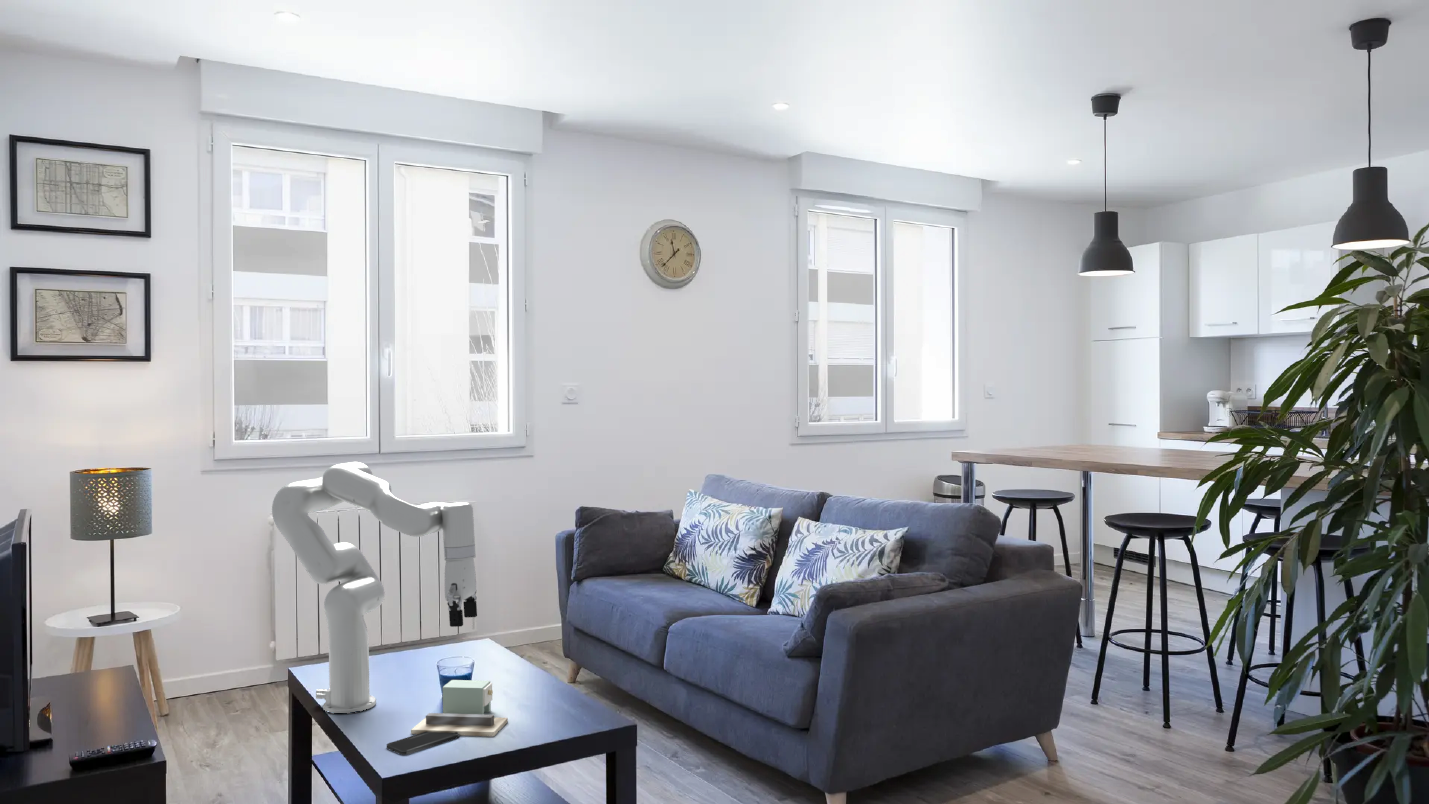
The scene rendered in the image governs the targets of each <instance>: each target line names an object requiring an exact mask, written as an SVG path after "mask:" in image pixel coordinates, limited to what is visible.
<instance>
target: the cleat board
mask: <svg viewBox="0 0 1429 804" xmlns="http://www.w3.org/2000/svg"><path fill="white" fill-rule="evenodd" d="M508 721H509V719H508V717H495V714H485V713H484V714H448V713H443V712H429V713H427V714H426V715H425V718H423V719H422V720H421V721H420V722H418V723H417V724H416V725H415V726H414V727H412V728H411V729H410V735H417V734H420V733H423V732H426V731H427V732H443V733H455V732H458V733H459V736H463V737H464V736H465V737H466V736H469V737H495V736H497V734H498V733H499V732H500V731H501V730H502V729H503V728H504V726H505V725H506V724H507V723H508ZM498 731H499V732H498Z"/></svg>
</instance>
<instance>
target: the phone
mask: <svg viewBox="0 0 1429 804" xmlns="http://www.w3.org/2000/svg"><path fill="white" fill-rule="evenodd" d="M459 738H460V735H459V733H458V732H455V733H443V732H427V731H426V732H423V733H420V734H412V735H411V736H408V737H404V738H401V739H397V740H394V741H391V742H389V743H387V744H386V749H387V748H388V749H390V750H389V751H391V750H392V751H391V752H393V751H395V752H394V753H396V754H398V753H399V755H400V754H402V755H401V756H407V755H411V754H415V753H417V752H420V751H422V750H426V749H429V748H432V747H436V746H438V745H441V744H444V743H448V742H450V741H453V740H457V739H459ZM388 749H387V750H388Z"/></svg>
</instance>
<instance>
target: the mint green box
mask: <svg viewBox="0 0 1429 804" xmlns="http://www.w3.org/2000/svg"><path fill="white" fill-rule="evenodd" d="M493 692H494V691H493V682H491V680H477V679H475V680H470V679H469V680H467V679H466V680H465V679H464V680H463V679H451V680H449V681H448V682H447V683H446V684H444V685H443V686H442V713H448V714H485V713H490V712H491V710H492V705H491V704H492V703H491V702H492V701H493Z"/></svg>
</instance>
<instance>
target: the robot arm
mask: <svg viewBox="0 0 1429 804" xmlns="http://www.w3.org/2000/svg"><path fill="white" fill-rule="evenodd" d="M373 474H374V473H373V472H372V469H370V468H369V466H367V464H365V463H362V462H360V461H359V462H358V461H350V462H344V463H343V462H342V463H337V464H334V465H332V466H330V467H328V468H327V469H326V470H325V471H324V473H323V475H322V476H320V477H317V478H310V479H305V480H297V481H293V482H290V483H287V484H285V485H284V486H283V487H281V488H280V489H279V490H278V491H277V492H276V494H275V496H274V497H273V501H272V506H271V507H272V508H271V514H272V520H273V522H274V523H275V526H276V527H277V529H278V531H279V532H280V534H281V535H282V536H283V537H284V539H285V540H286V541H287V543H288V545H289V546H290V547H291V549H292V551H293V552H294V554H295V555H296V558H298V560H299V562H300V563H301V565H302V566H303V568H304V569H305V571H306V572H307V575H309V577H310V578H311V580H312V581H313V582H314V583H316V584H318V585H324V586H325V585H329V584H332V583H336V582H340V583H339V584H337V585H335V586H334V587H332V588H331V589H330V590H329V591H328V592H327V593H326V596H325V598H324V602H323V611H324V615H325V620H326V625H327V635H328V667H329V668H328V669H329V670H328V674H329V675H328V677H329V678H328V680H329V683H328V685H329V688H328V689H326V688H317V689H316V692H315V699H316V700H322V699H323V700H324V701H325V702H324V703H323V706H322V709H323V711H324V710H325V712H326V711H329V712H334V713H347V714H351V713H350V712H355V711H360V712H362V711H363V710H364V711H366V709H367V710H369V709H371V708H373V707H375V705H376V704H377V699H376V697H375V696H374V695H370V652H369V651H370V649H369V648H370V646H369V630H368V627H367V624H366V622H365V619H364V615H366V614H369V613H371V612H374V611H376V610H377V609H378V608H379V607H381V605H382V604H383V602H384V600H385V589H384V585H383V583H382V581H381V580H380V578H379V577H378V575H377V574H376V571H375V570H374V569H373V568H372V566H371V564H370V562H369V561H368V560H367V558H366V556H365V554H363V552H362V551H361V550H360V549H359V548H358V547H357V546H356V545H354V544H352V543H350V542H347V541H342V542H336V543H333V542H332V541H331V540H330V539H329V537H328V536H327V534H326V533H325V531H324V530H323V528H322V527H321V526H320V525H319V524H318V523H317V522H316V521H315V520H314V519H312V518H311V517H310V516H309V514H310V513H314V512H319V511H323V510H326V509H331V508H333V507H335V506H337V505H339V504H342V503H344V502H345V503H348V504H350V505H353V506H356V507H357V508H360V509H362V510H364V511H366V512H368V513H371V514H372V515H373V516H374V517H375V519H376V520H378V521H379V522H380V523H381V524H383V525H384V526H385V527H387V528H390V529H392V530H394V531H397V532H399V533H402V534H404V535H407V536H409V537H416V538H420V537H425V536H427V535H430V534H435V533H438V532H442V538H443V541H442V542H443V555H444V557H443V559H444V561H445V563H444V564H445V565H444V600H445V601H446V602H447V603H446V605H447V606H448V607H447V610H448V617H449V620H448V621H449V626H450V627H453V628H454V627H455V628H456V627H462V626H464V618H476V617H478V609H477V606H478V605H477V576H476V566H475V561H474V559H475V558H476V540H475V524H474V508H473V506H472V504H471V503H470V502H465V501H464V502H463V501H462V502H460V501H458V502H450V503H447V502H439V501H433V502H428V503H423V504H418V505H415V504H412V503H410V502H406V501H405V500H402V499H399V498H398V497H396V496H394V495H393V494H392V486H391V484H390V483H389V482H388V481H387V480H384V479H382V478H379V477H376V476H374V475H373ZM462 605H463V609H462ZM334 713H333V714H334ZM355 713H356V712H355Z"/></svg>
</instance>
